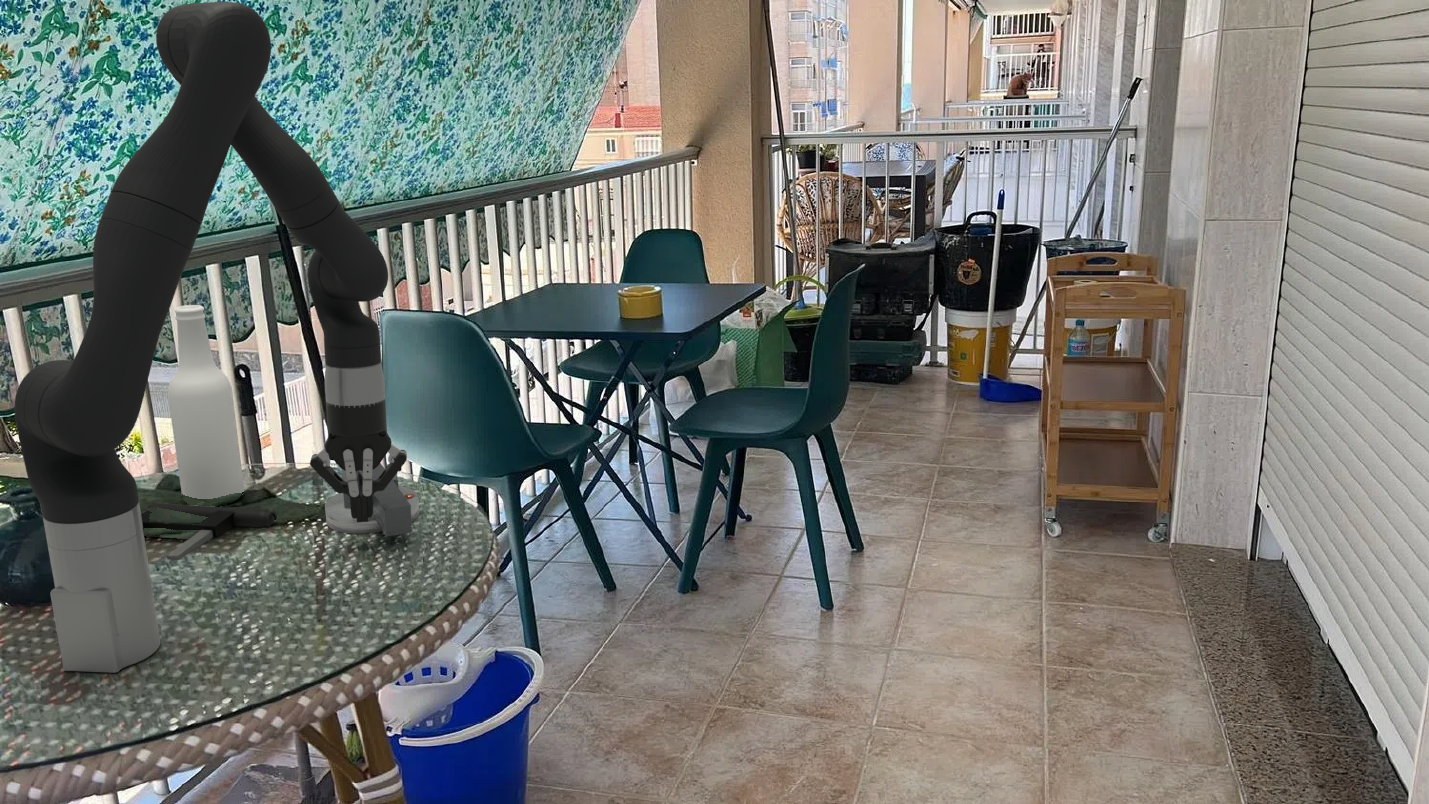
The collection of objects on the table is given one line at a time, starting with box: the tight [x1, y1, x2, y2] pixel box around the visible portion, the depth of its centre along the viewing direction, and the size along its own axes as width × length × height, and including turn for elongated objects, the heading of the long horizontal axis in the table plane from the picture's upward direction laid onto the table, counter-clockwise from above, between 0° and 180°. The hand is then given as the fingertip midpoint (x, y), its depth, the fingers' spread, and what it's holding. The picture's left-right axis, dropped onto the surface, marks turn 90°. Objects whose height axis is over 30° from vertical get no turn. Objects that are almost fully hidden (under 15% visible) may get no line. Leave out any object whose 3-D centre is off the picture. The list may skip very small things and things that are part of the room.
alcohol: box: [167, 304, 245, 499], centre depth 170 cm, size 9×9×30 cm
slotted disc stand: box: [324, 463, 420, 535], centre depth 164 cm, size 13×13×6 cm
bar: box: [358, 462, 413, 537], centre depth 161 cm, size 20×4×4 cm, turn 30°
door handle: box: [141, 502, 278, 561], centre depth 158 cm, size 3×20×16 cm
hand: (362, 520), depth 154 cm, fingers closed
